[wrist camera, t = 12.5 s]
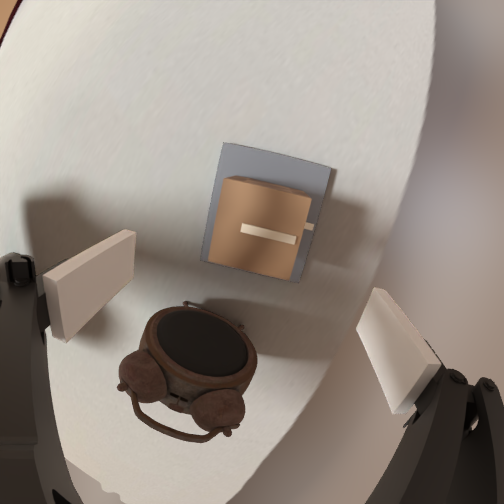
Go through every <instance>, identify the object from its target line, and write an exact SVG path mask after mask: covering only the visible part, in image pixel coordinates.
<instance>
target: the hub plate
mask: <svg viewBox="0 0 504 504" xmlns="http://www.w3.org/2000/svg"><path fill="white" fill-rule="evenodd" d="M330 171H331V168H329V167H326V166H322V165H319V164H315V163H312V162H308V161H304V160H301V159H297V158H293V157H289V156H285V155H281V154H277V153H272V152H268V151H264V150H259V149H255V148H250V147H245V146H240V145H235V144H230V143H224V142H223V145H222V150H221V154H220V159H219V164H218V168H217V173H216V178H215V183H214V187H213V192H212V197H211V203H210V208H209V213H208V218H207V224H206V229H205V235H204V241H203V246H202V252H201V258H200V260H201V261H205V262H209V263H213V264H217V265H222V264H218V263H214V262H210V261H208V257H209V251H210V246H211V240H212V235H213V229H214V224H215V219H216V214H217V208H218V203H219V198H220V193H221V188H222V184H223V179H224V178H227V177H231V176H236V175H237V176H242V177H247V178H251V179H256V180H260V181H264V182H269V183H273V184H277V185H281V186H285V187H289V188H293V189H297V190H301V191H304V192H305V193H306V194H307V195H308V196H309V197H310V198H311V199H312V200H311V204H310V208H309V212H308V215H307V219H306V223H305V226H304V230H303V234H302V237H301V241H300V245H299V248H298V252H297V255H296V259H295V262H294V266H293V269H292V273H291V276H290V279H289V280H286V281H291V282H295V283H299V281H300V278H301V275H302V272H303V268H304V265H305V262H306V259H307V255H308V252H309V249H310V245H311V242H312V238H313V235H314V231H315V228H316V224H317V221H318V217H319V213H320V210H321V206H322V202H323V199H324V195H325V191H326V187H327V183H328V179H329V175H330ZM222 266H226V265H222ZM226 267H230V266H226ZM230 268H234V267H230ZM234 269H238V268H234ZM239 270H243V269H239ZM243 271H247V270H243ZM247 272H251V271H247ZM251 273H255V272H251ZM256 274H259V273H256ZM260 275H264V274H260ZM264 276H268V275H264ZM269 277H272V276H269ZM273 278H276V277H273ZM278 279H281V278H278ZM282 280H285V279H282Z"/></svg>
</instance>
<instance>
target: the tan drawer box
mask: <svg viewBox="0 0 504 504" xmlns="http://www.w3.org/2000/svg"><path fill="white" fill-rule="evenodd" d="M311 200H312V199H311V198H310V197H309V196H308V195H307V194H306V193H305V192H304V191H301V190H297V189H293V188H289V187H285V186H281V185H277V184H273V183H269V182H264V181H260V180H256V179H251V178H247V177H242V176H237V175H236V176H231V177H227V178H224V179H223V184H222V188H221V193H220V198H219V203H218V208H217V214H216V219H215V224H214V229H213V235H212V240H211V246H210V251H209V257H208V261H210V262H214V263H218V264H222V265H226V266H230V267H234V268H238V269H243V270H247V271H251V272H255V273H259V274H264V275H268V276H272V277H276V278H281V279H285V280H289V279H290V276H291V273H292V269H293V266H294V262H295V259H296V255H297V252H298V248H299V245H300V241H301V237H302V234H303V230H304V226H305V223H306V219H307V215H308V212H309V208H310V204H311Z"/></svg>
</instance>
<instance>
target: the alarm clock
mask: <svg viewBox="0 0 504 504" xmlns="http://www.w3.org/2000/svg"><path fill="white" fill-rule="evenodd" d="M187 304H188V303H187V302H186V301H184V302H183V305H184V306H178V307H170V308H166V309H163V310H160V311H158V312H157V313H155V314H154V315H153V316H152V317H151V318H150V319H149V321H148V322H147V325H146V327H145V330H144V332H143V335H142V338H141V341H140V345H139V350H137V351H135V352H133V353H131V354H129V355H128V356H126V357H125V358H124V359H123V360H122V362H121V364H120V366H119V379H120V384H118V386H117V389H118V390H119V391H122V392H123V391H126V393H127V394H128V395H129V396H130V397H131V400H132V405H133V409H134V413H135V415H136V416H137V417H138V419H140V420H141V421H142V422H144V423H145V424H147V425H148V426H149V427H151V428H153V429H155V430H157V431H159V432H161V433H163V434H166V435H169V436H171V437H174V438H177V439H180V440H183V441H188V442H196V443H204V442H207V441H209V440H210V439H212V438H213V437H215V436H216V435H217V434H218V433H220V432H223V434H224V435H225V436H226V437H230V436H231V435H232V431H231V429H237V428H238V427H239V426H240V424H239V423H240V422H241V421H242V420H243V418H244V415H245V404H244V400H243V398H242V395H243V394H244V392H245V391H246V389H247V388H248V386H249V384H250V382H251V380H252V377H253V375H254V373H255V370H256V367H257V354H256V351H255V348H254V346H253V344H252V343H251V341H250V340H249V338H248V337H247V336H246V335H245V334H244V333H243V332H242V331H241V329H244V325H240V327H237V326H235V325H234V324H233V323H231V322H230V321H228V320H226V319H225V318H223V317H221V316H219V315H217V314H214V313H212V312H209V311H206V310H203V309H199V308H193V307H189V306H188V305H187ZM156 401H160V402H161V403H163V404H165V405H166V406H168V408H170V409H172V410H174V411H177V412H179V413H185V414H189V415H192V418H193V419H194V421H195V423H196V424H197V425H198V426H199V427H200V428H202V429H203V430H205V431H208V432H209V433H208V434H206V435H194V434H187V433H184V432H181V431H178V430H175V429H172V428H170V427H167V426H165V425H162V424H160V423H158V422H156V421H154V420H153V419H152V418H150V417H149V416H147V415H146V414H144V413H143V412H142V411H141V409H140V406H139V403H138V402H141V403H153V402H156Z"/></svg>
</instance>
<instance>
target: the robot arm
mask: <svg viewBox="0 0 504 504" xmlns="http://www.w3.org/2000/svg"><path fill="white" fill-rule="evenodd" d="M135 244H136V232H134V231H130V230H126V229H124V230H122V231H120V232H118V233H116V234H114V235H112V236H111V237H109V238H107V239H105V240H103V241H101V242H99V243H97V244H96V245H94V246H92V247H90V248H88V249H86V250H85V251H83V252H81V253H79V254H78V255H76V256H74V257H72V258H69V259H65V260H63V261H61V262H59V263H58V264H57V265H54V266H53V267H51V268H49V269H47V270H46V271H44V272H42V273H41V274H39V275H38V276H36V275H35V265H34V259H33V258H32V257H31V256H28V255H18V254H16V253H9V254H7V255H5V256H3V257H1V258H0V504H83V502H82V500H81V498H80V496H79V495H78V493H77V491H76V489H75V487H74V486H73V483H72V480H71V477H70V474H69V471H68V468H67V465H66V461H65V458H64V454H63V451H62V447H61V443H60V439H59V435H58V430H57V425H56V420H55V415H54V410H53V404H52V397H51V390H50V381H49V372H48V359H47V339H46V333H45V329H46V328H47V327H48V326H49V325H50V326H51V331H52V336H53V337H54V338H56V339H58V340H60V341H62V342H64V343H67V342H68V341H69V340H70V339H71V338H72V337H73V336H74V335H75V334H76V333H77V332H78V331H79V330H80V329H81V328H82V327H83V326H84V325H85V324H86V323H87V322H88V321H89V320H90V319H91V318H92V317H93V316H94V315H95V314H96V313H97V312H98V311H99V310H100V309H101V308H102V307H103V306H104V305H105V304H106V303H107V302H108V301H110V300H111V299H112V298H113V297H114V296H115V295H116V294H117V293H118V292H119V291H120V290H121V289H122V288H123V287H124V286H125V285H127V284H128V283H129V282H130V281H131V280H132V279H133V276H134V258H135ZM356 330H357V332H358V334H359V336H360V339H361V341H362V343H363V345H364V347H365V350H366V352H367V354H368V356H369V359H370V361H371V363H372V366H373V368H374V370H375V373H376V375H377V377H378V380H379V382H380V384H381V387H382V389H383V392H384V394H385V397H386V399H387V402H388V404H389V407H390V409H391V412H392V414H405V413H407V412H408V411H409V409H410V408H411V407H412V406H413V404H415V406H416V408H417V410H416V411H415V413H414V414H413V415H412V416H411V417H410V419H409V420H408V421H407V422H406V423H405V424H404V426H403V427H404V428H405V427H406V426H407V425H408V427H407V429H406V431H405V433H404V436H403V438H402V440H401V442H400V444H399V446H398V448H397V450H396V452H395V454H394V456H393V458H392V460H391V461H390V463H389V465H388V467H387V469H386V471H385V472H384V474H383V476H382V477H381V479H380V481H379V483H378V484H377V486H376V487H375V489H374V491H373V492H372V494H371V495H370V497H369V498H368V500H367V501H366V503H365V504H504V405H503V402H502V399H501V396H500V393H499V390H498V388H497V386H496V385H495V383H494V382H493V381H492V380H491V379H488V378H485V377H482V378H480V379H479V381H478V382H477V384H476V385H475V386H473V385H469V384H468V381H467V379H466V378H465V376H464V375H463V374H462V373H460V372H459V371H457V370H454V369H446V368H445V366H444V365H443V363H442V362H441V360H440V359H439V357H438V356H437V355H436V354H435V352H434V350H433V349H431V346H430V345H429V344H428V342H427V341H426V340H425V339H424V338H423V337H422V336H421V335H420V333H419V332H418V331H417V329H416V328H415V327H414V325H413V324H412V323H411V321H410V320H409V319H408V318H407V316H406V315H405V314H404V312H403V311H402V310H401V309H400V308H399V306H398V305H397V304H396V302H395V301H394V300H393V299H392V297H391V296H390V295H389V294H388V293H387V291H386V290H385V289H380V288H375V287H374V288H373V290H372V293H371V295H370V298H369V300H368V303H367V305H366V307H365V310H364V312H363V314H362V316H361V319H360V321H359V323H358V325H357V327H356ZM477 420H478V424H477V426H476V428H475V429H474V430H472V427H471V426H472V425H473V424H474V423H475V422H476V421H477Z"/></svg>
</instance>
